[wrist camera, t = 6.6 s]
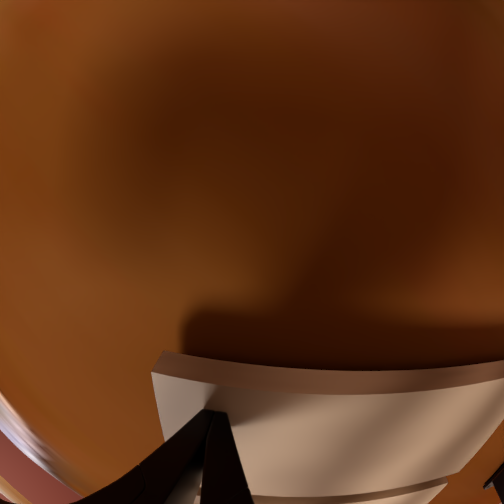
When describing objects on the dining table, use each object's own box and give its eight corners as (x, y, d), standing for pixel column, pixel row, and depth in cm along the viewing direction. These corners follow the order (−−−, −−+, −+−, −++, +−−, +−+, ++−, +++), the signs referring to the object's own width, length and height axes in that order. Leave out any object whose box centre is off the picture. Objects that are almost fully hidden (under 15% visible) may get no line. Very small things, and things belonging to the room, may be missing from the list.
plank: (522, 356, 8) (534, 369, 7) (452, 458, 11) (458, 471, 9) (163, 350, 9) (151, 372, 8) (181, 464, 12) (175, 481, 10)
